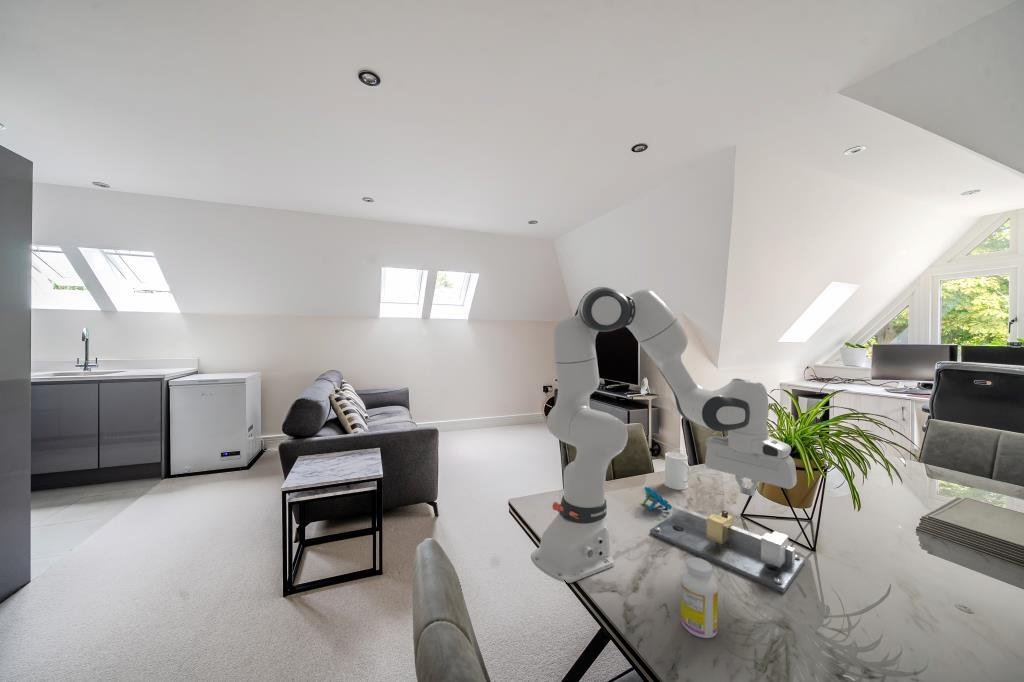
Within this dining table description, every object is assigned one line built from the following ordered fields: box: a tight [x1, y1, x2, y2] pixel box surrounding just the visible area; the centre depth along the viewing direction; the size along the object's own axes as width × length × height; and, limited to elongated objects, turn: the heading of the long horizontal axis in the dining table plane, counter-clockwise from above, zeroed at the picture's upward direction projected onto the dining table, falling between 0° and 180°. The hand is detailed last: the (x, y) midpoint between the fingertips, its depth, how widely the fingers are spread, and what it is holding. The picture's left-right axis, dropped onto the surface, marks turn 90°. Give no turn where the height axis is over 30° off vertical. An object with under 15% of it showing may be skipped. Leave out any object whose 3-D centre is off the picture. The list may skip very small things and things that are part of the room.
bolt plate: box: [649, 515, 806, 594], centre depth 103 cm, size 18×33×2 cm, turn 40°
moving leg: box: [707, 510, 734, 545], centre depth 104 cm, size 8×4×7 cm, turn 130°
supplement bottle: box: [680, 556, 719, 639], centre depth 75 cm, size 7×7×13 cm
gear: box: [642, 486, 673, 511], centre depth 126 cm, size 11×6×10 cm
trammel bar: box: [671, 504, 796, 569], centre depth 103 cm, size 8×31×7 cm, turn 40°
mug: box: [663, 451, 693, 491], centre depth 144 cm, size 12×8×12 cm
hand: (747, 494), depth 97 cm, fingers closed
